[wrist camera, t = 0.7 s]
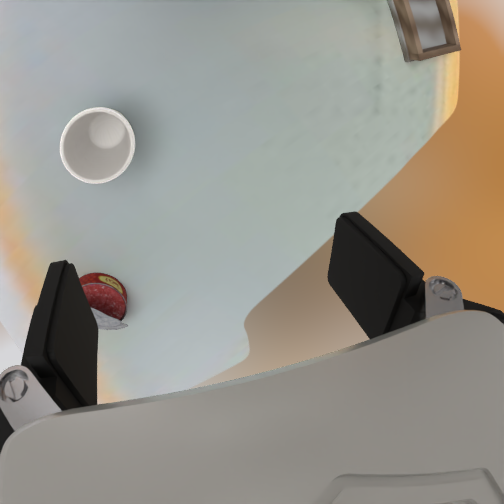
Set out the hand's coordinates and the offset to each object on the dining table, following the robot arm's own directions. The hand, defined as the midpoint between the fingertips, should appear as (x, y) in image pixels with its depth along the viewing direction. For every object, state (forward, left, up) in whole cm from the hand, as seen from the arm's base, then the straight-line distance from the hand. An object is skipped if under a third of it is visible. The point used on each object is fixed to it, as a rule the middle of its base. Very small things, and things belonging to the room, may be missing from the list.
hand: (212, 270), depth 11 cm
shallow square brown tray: (0, +47, -35) cm, 58 cm away
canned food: (+20, -24, -35) cm, 47 cm away
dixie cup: (-2, -7, -35) cm, 36 cm away
